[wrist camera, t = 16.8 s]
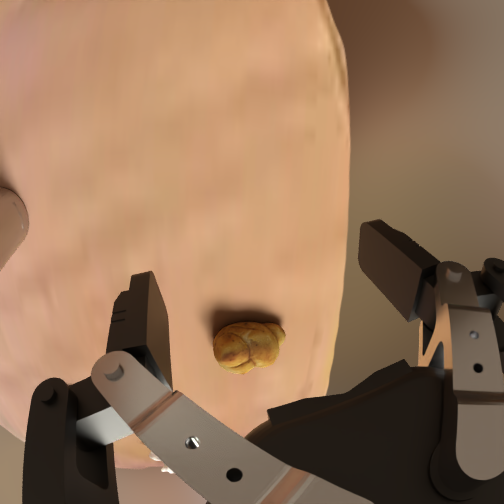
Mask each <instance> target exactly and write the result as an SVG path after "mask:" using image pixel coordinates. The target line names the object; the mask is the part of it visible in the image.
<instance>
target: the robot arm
mask: <svg viewBox="0 0 504 504" xmlns="http://www.w3.org/2000/svg"><path fill="white" fill-rule="evenodd" d="M28 226H29V221H28V214H27V211H26V208H25V206H24V204H23V202H22V201H21V199H20V198H19V197H18V196H17V195H16V194H15V193H14V192H12V191H11V190H8V189H6V188H0V271H1V270H2V268H3V267H4V265H5V264H6V263H7V261H8V260H9V259H10V257H11V256H12V255H13V253H14V252H15V251H16V249H17V248H18V247H19V246H20V244H21V243H22V242H23V240H24V239H25V237H26V235H27V232H28ZM358 261H359V265H360V268H361V269H362V271H363V272H364V273H365V274H366V276H367V277H368V278H369V279H370V280H371V281H372V282H373V283H374V284H375V285H376V286H377V287H378V289H379V290H380V291H381V292H382V293H383V294H384V295H385V296H386V298H387V299H388V300H389V301H390V302H391V303H392V304H393V305H394V307H395V308H396V309H397V310H398V311H399V312H400V313H401V314H402V316H403V317H404V318H405V319H406V320H407V322H410V321H412V320H415V319H417V318H419V317H420V319H421V323H420V327H419V361H418V367H410V366H409V365H408V363H407V362H406V361H405V359H403V360H401V361H399V362H396V363H394V364H392V365H390V366H388V367H386V368H383V369H381V370H378V371H376V372H374V373H373V374H372V375H370V376H369V377H368V378H367V379H365V380H364V381H363V382H361V383H360V384H358V385H357V386H356V387H354V388H353V389H352V390H350V391H348V392H346V393H344V394H337V395H330V396H322V397H313V398H304V399H301V400H298V401H295V402H292V403H288V404H285V405H282V406H278V407H275V408H271V409H268V410H267V413H268V419H269V420H267V421H266V422H264V423H262V424H260V425H259V426H258V427H256V428H255V429H253V430H252V431H251V432H250V433H249V434H248V435H247V436H246V437H245V438H243V437H242V436H240V435H239V434H237V433H236V432H234V431H233V430H231V429H230V428H228V427H227V426H225V425H224V424H223V423H221V422H220V421H218V420H217V419H216V418H214V417H213V416H212V415H210V414H209V413H207V412H206V411H205V410H203V409H202V408H201V407H199V406H198V405H197V404H196V403H194V402H193V401H192V400H190V399H189V398H188V397H187V396H185V395H184V394H183V393H181V392H179V391H177V390H176V391H175V392H173V385H172V373H171V359H170V343H169V322H168V314H167V310H166V306H165V303H164V301H163V298H162V295H161V293H160V290H159V287H158V284H157V282H156V279H155V276H154V274H153V272H152V271H148V272H144V273H139V274H135V275H132V276H131V281H130V287H129V290H128V291H123V292H121V293H120V295H119V296H118V298H117V299H116V300H115V302H114V306H113V312H112V313H113V315H112V317H111V324H110V329H109V335H108V342H107V348H106V354H105V355H104V356H102V357H101V358H100V359H98V360H97V362H96V363H95V364H94V366H93V368H92V371H91V376H90V377H88V378H86V379H84V380H82V381H79V382H77V383H75V384H73V385H70V386H68V385H67V384H66V383H65V382H64V381H63V380H62V379H60V378H49V379H47V380H45V381H43V382H42V383H40V384H39V385H38V386H37V388H36V389H35V391H34V393H33V395H32V399H31V405H30V411H29V418H28V425H27V432H26V441H25V451H24V464H23V487H22V488H23V489H22V502H23V503H22V504H119V499H118V492H117V483H116V474H115V462H114V448H113V442H114V441H117V440H119V439H122V438H124V437H126V436H129V435H131V434H133V433H135V434H136V436H137V437H138V438H139V439H140V440H141V441H142V442H143V443H144V444H145V445H146V446H147V447H148V448H149V449H150V450H151V451H152V452H153V453H154V454H155V455H156V456H157V457H158V458H159V459H160V460H161V461H162V462H163V463H164V464H165V465H166V466H167V467H168V468H170V469H171V470H172V471H173V472H174V473H175V474H176V475H177V476H178V477H180V478H181V479H182V480H183V481H184V482H185V483H186V484H188V485H189V486H190V487H191V488H192V489H193V490H195V491H196V492H197V493H198V494H200V495H201V496H202V497H203V498H205V499H206V500H207V502H206V504H504V383H503V375H502V372H503V373H504V322H503V321H502V320H501V319H500V318H499V317H498V316H497V314H498V312H499V310H500V308H501V305H502V303H503V302H504V261H502V260H500V259H497V258H488V259H486V260H485V262H484V265H483V267H482V271H474V272H470V271H469V270H468V269H467V268H466V267H465V266H463V265H462V264H460V263H457V262H453V261H444V262H440V261H439V260H437V259H436V258H435V257H434V256H432V255H431V254H430V253H429V252H427V251H426V250H425V249H424V248H422V247H421V246H419V244H417V243H416V242H415V241H412V239H411V238H410V237H408V236H407V235H406V234H404V233H403V232H400V231H397V230H395V229H393V228H392V227H390V226H389V225H387V224H386V223H385V222H383V221H382V220H380V219H377V220H373V221H369V222H364V223H362V225H361V227H360V240H359V253H358Z"/></svg>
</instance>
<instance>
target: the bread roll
mask: <svg viewBox="0 0 504 504" xmlns="http://www.w3.org/2000/svg"><path fill="white" fill-rule="evenodd" d="M285 336H286V335H285V332H284V330H283V329H282V328H281V327H280V326H279V325H277V324H274V323H262V324H261V323H258V322H252V321H251V322H236V323H234V324H230V325H227V326H225V327H223V328H222V329H221V330H220V331H219V332H218V334H217V335H216V337H215V339H214V341H213V347H214V348H213V351H214V356H215V358H216V360H217V361H218V363H219V365H220V366H221V367H222V368H223V369H225V370H226V371H228V372H231V373H235V374H245V373H247V372H248V371H249V370H251V369H253V367H260V368H264V367H267V366H269V365H271V364H273V363H274V361H275V360H276V358H277V357H278V354H279V346H281V344H282V343H283V342H284V340H285Z"/></svg>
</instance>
